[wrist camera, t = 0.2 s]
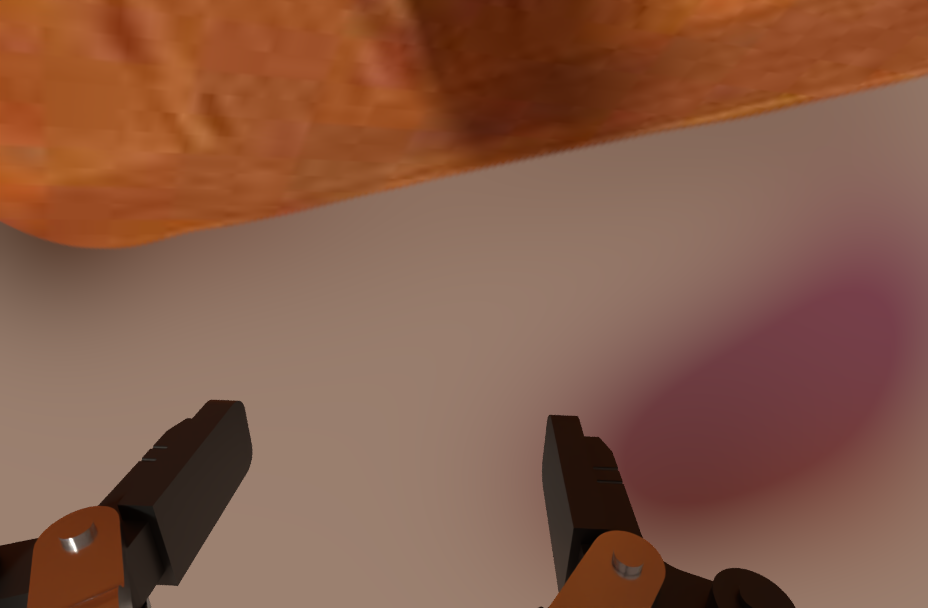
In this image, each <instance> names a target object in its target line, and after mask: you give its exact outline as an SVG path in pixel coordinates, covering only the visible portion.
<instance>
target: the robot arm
mask: <svg viewBox="0 0 928 608" xmlns="http://www.w3.org/2000/svg"><path fill="white" fill-rule="evenodd" d="M251 460H252V443H251V438H250V433H249V428H248V423H247V417H246V412H245V407H244V405H243V403H242V402H241V401H229V400H209V401H208V402H207V403H206V404H205V405H204V406H203V407H202V408H201V409H200V410H199V412H198V413H197V414H196V415H195V416H194V417H193V418H192V419H191V418H187V419H185V420H183V421H182V422H180V423H179V424H177V425H175V426H174V427H172V428H171V429H169V430H168V431H166V433H165V434H164V435H163V436H162V437H161V438H160V439H159V440H158V441H157V442H156V443H155V444H154V446H153V449H150V450H149V451H148V452H147V453H146V454H145V455H144V457H143V458H142V461H139V462H138V463H137V464H136V465H135V466H134V467H133V468H132V469H131V471H130V472H129V473H128V474H127V475H126V476H125V477H124V478H123V479H122V480H121V481H120V483H119V484H118V485H117V486H116V487H115V488H114V489H113V490H112V491H111V492H110V494H109V495H108V496H107V497H106V498H105V499H104V500H103V501H102V502H101V503H100V504H99V505H98V506H93V507H88V508H84V509H80V510H77V511H75V512H73V513H70V514H68V515H66V516H64V517H63V518H61V519H59V520H58V521H56V522H55V523H53V524H52V525H51V526H49V527H48V528H47V529H46V530H45V531H44V532H43V533H42V534H41V535H40V537H39V538H36V539H31V540H26V541H22V542H16V543H12V544H7V545H1V546H0V608H151V604H150V601H149V598H148V597H149V595H150V594H151V592H152V591H153V589H154V588H155V586H156V585H174V586H178V585H179V583H180V581H181V580H182V578H183V576H184V575H185V573H186V572H187V570H188V568H189V567H190V565H191V563H192V562H193V560H194V558H195V557H196V555H197V554H198V552H199V550H200V549H201V547H202V545H203V544H204V542H205V540H206V539H207V537H208V535H209V534H210V532H211V531H212V529H213V527H214V526H215V524H216V523H217V521H218V519H219V518H220V516H221V514H222V513H223V511H224V509H225V508H226V506H227V505H228V503H229V501H230V500H231V498H232V496H233V495H234V493H235V492H236V490H237V488H238V487H239V485H240V483H241V482H242V480H243V478H244V477H245V475H246V473H247V472H248V470H249V467H250V464H251ZM542 482H543V490H544V496H545V503H546V510H547V517H548V524H549V530H550V537H551V544H552V551H553V557H554V564H555V571H556V577H557V584H558V591H559V593H558V595H557V596H556V598H555V599H554V601H553V602H552V604H551V605H550V606H549V607H548V608H795V606H794V604H793V603H792V601H791V600H790V599H789V597H788V596H787V595H786V594H785V593H784V592H783V591H782V590H781V589H780V588H779V587H778V586H777V585H776V584H774V583H773V582H772V581H770V580H769V579H767V578H765V577H763V576H762V575H760V574H757V573H755V572H753V571H749V570H746V569H740V568H730V569H725V570H723V571H721V572H719V573H718V574H717V575H716V576H715V578H714V581H711V580H708V579H705V578H702V577H699V576H696V575H693V574H690V573H687V572H684V571H681V570H679V569H676V568H674V567H672V566H670V565H669V564H667V563H666V562H664V561H663V559H662V558H661V556H660V554H659V553H658V551H657V550H656V549H655V548H654V547H653V546H652V545H651V544H650V543H649V542H648V541H646V540H645V539H643V537H642V535H641V532H640V529H639V527H638V524H637V521H636V518H635V515H634V512H633V510H632V507H631V504H630V501H629V498H628V495H627V493H626V490H625V487H624V484H622V478H621V476H620V473H619V471H618V467H617V464H616V461H615V458H614V456H613V453H612V451H611V450H610V449H609V448H608V447H607V446H606V444H605V443H604V442H603V441H602V440H601V439H600V438H599V437H585V436H584V434H583V431H582V427H581V424H580V420H579V418H578V416H561V415H549V416H548V420H547V427H546V436H545V445H544V453H543V462H542ZM539 608H543V607H539Z"/></svg>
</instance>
